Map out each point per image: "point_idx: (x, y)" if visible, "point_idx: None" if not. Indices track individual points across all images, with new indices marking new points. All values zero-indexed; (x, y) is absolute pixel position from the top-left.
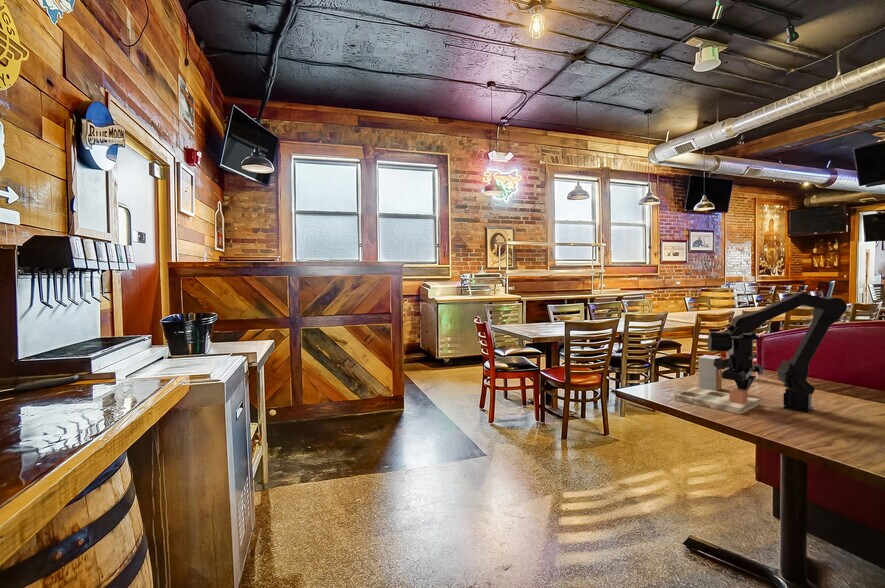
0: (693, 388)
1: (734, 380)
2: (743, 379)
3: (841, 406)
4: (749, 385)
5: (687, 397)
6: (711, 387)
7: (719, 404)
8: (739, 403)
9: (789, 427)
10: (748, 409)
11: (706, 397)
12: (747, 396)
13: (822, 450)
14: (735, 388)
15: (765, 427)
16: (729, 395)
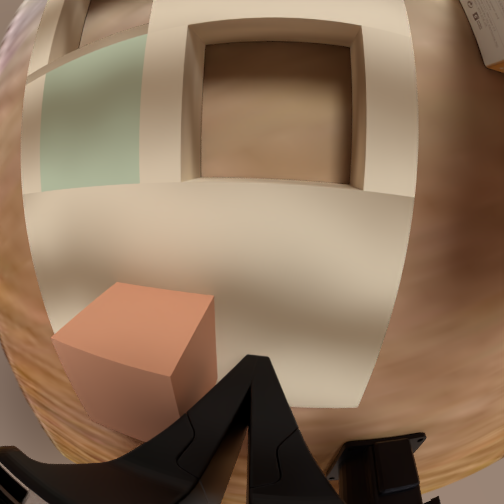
0: None
1: (98, 465)
2: (14, 488)
3: (453, 467)
4: (246, 495)
5: (33, 51)
6: (493, 28)
7: (33, 251)
8: None
9: (113, 438)
10: None
11: (83, 107)
12: None
13: (64, 441)
14: (143, 386)
15: (57, 394)
16: (87, 306)
